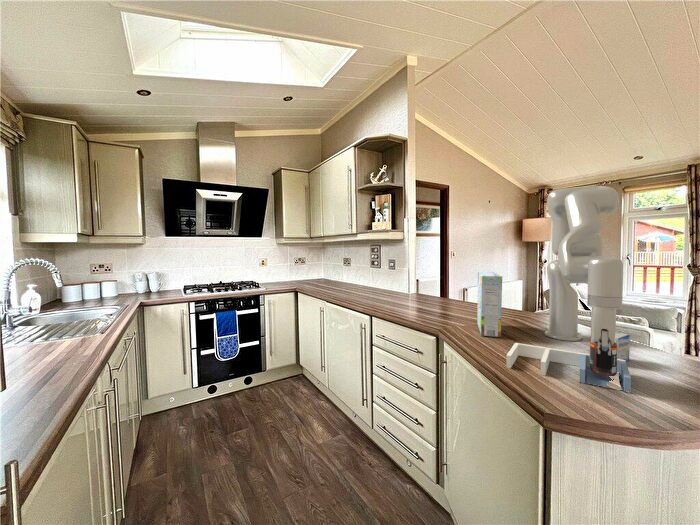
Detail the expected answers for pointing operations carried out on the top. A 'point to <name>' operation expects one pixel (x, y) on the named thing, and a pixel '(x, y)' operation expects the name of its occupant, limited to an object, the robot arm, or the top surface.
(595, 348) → the supplement bottle
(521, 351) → the organizer
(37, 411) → the top surface
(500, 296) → the snack box
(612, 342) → the robot arm
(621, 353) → the medicine box
